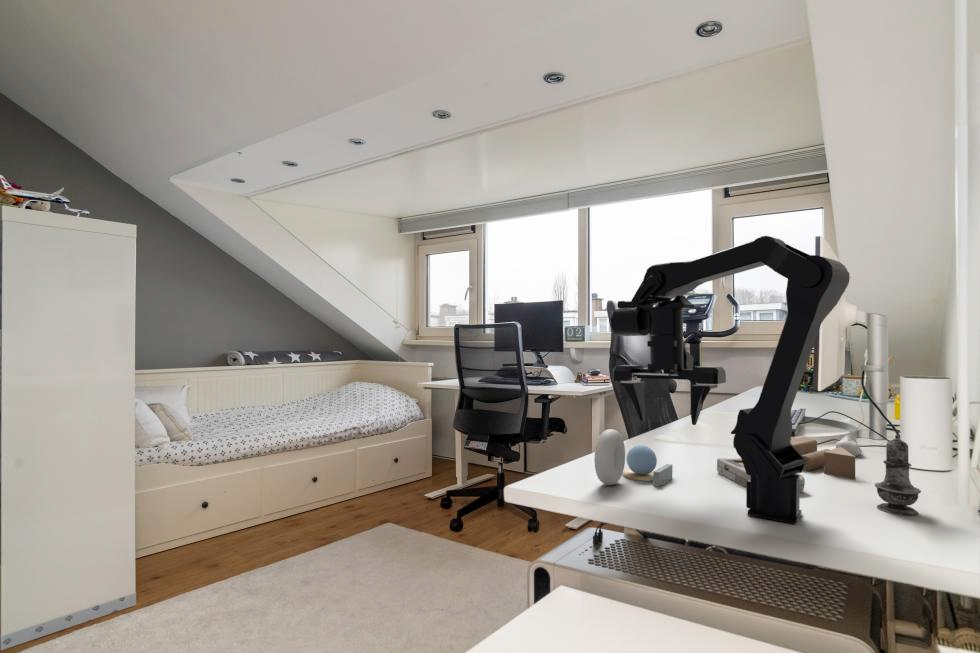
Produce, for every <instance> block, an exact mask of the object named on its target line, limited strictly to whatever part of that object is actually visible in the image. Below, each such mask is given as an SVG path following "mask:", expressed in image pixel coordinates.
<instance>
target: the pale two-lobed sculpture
mask: <svg viewBox="0 0 980 653" xmlns="http://www.w3.org/2000/svg"><path fill="white" fill-rule="evenodd" d="M838 447H842V448H843V449H845V450H846V451H848V452H849V453H851V454H852V455H854V456H855V457H858V456H859V455H860V454H861V455H862V453H863V450H862V448H861V447H860V445H859V443H858V441H857V439H856V437H855V436H853V435H850V434H846V435H845V436H843V437H842V438H841V440H838V441H837V442H836V443H835V448H838Z"/></svg>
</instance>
